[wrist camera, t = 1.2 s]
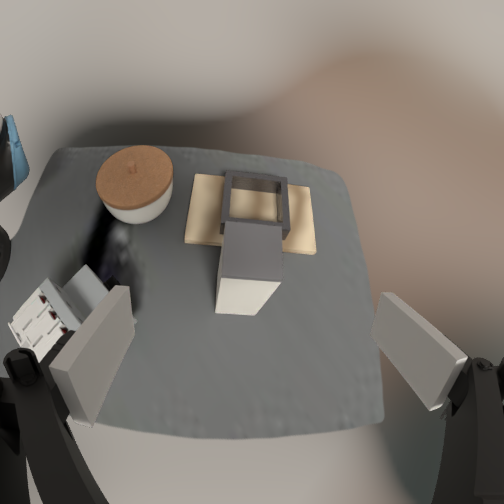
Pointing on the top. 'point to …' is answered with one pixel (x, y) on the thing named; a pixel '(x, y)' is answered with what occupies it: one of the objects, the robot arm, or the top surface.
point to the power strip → (248, 267)
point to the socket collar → (261, 185)
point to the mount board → (247, 213)
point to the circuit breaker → (58, 310)
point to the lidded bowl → (136, 183)
